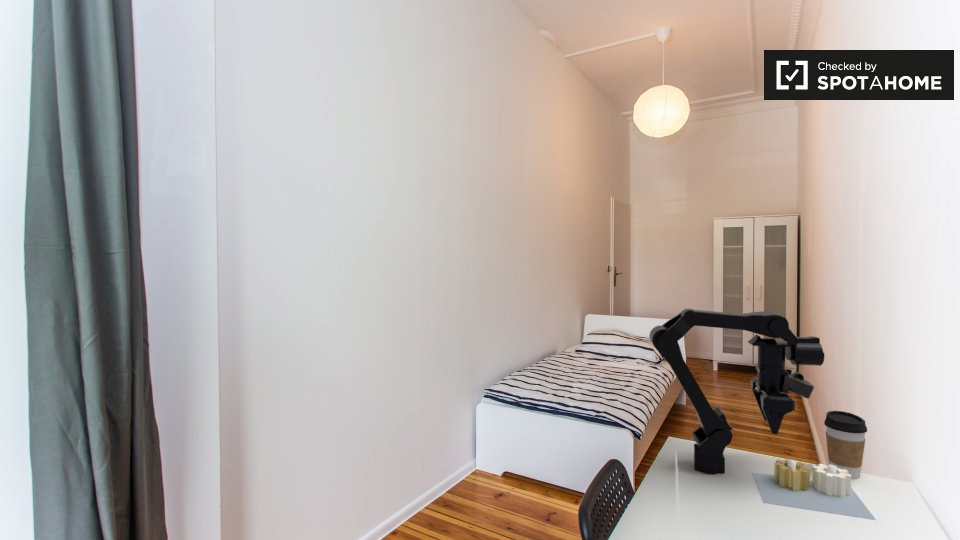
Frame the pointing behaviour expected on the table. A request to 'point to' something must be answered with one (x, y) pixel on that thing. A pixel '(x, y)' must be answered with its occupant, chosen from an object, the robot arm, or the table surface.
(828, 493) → the cream gear
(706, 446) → the robot arm
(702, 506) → the table surface
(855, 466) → the coffee cup
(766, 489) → the gear board
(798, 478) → the brass gear
